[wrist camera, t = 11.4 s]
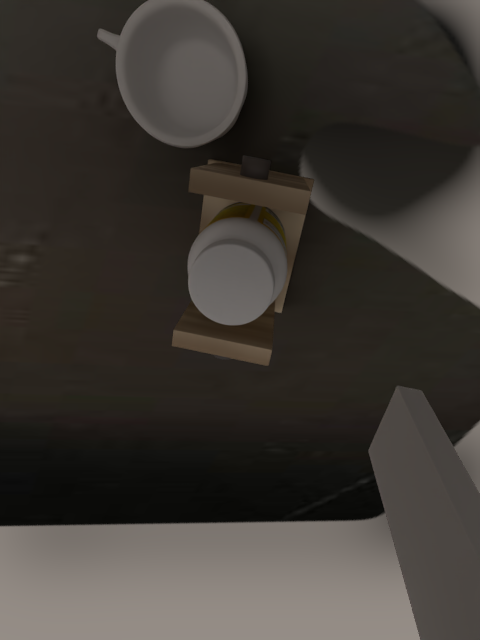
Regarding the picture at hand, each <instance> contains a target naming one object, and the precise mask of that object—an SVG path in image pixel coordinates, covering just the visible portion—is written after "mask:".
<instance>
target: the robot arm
mask: <svg viewBox="0 0 480 640" xmlns="http://www.w3.org/2000/svg"><path fill="white" fill-rule="evenodd" d="M368 451H369V455H370V459H371V462H372V466H373V469H374V473H375V477H376V480H377V484H378V488H379V491H380V495H381V498H382V502H383V506H384V509H385V513H386V517H387V520H388V524H389V527H390V531H391V534H392V538H393V542H394V545H395V549H396V553H397V556H398V560H399V564H400V567H401V571H402V575H403V578H404V582H405V585H406V589H407V593H408V596H409V600H410V604H411V607H412V611H413V614H414V618H415V622H416V625H417V629H418V632H419V636H420V640H480V493H479V492H478V490H477V488H476V486H475V484H474V483H473V481H472V479H471V478H470V476H469V474H468V472H467V470H466V468H465V467H464V465H463V463H462V461H461V460H460V458H459V456H458V455H457V453H456V451H455V449H454V447H453V445H452V444H451V442H450V440H449V438H448V437H447V435H446V433H445V431H444V429H443V428H442V426H441V424H440V422H439V421H438V419H437V417H436V415H435V413H434V412H433V410H432V408H431V406H430V405H429V403H428V401H427V399H426V397H425V396H424V394H423V392H422V391H421V390H416V389H411V388H406V387H401V386H397V387H396V389H395V392H394V394H393V396H392V398H391V401H390V403H389V405H388V407H387V410H386V412H385V414H384V416H383V419H382V421H381V423H380V425H379V428H378V430H377V432H376V434H375V437H374V439H373V441H372V443H371V446H370V448H369V450H368Z"/></svg>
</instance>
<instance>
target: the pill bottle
mask: <svg viewBox="0 0 480 640" xmlns="http://www.w3.org/2000/svg"><path fill="white" fill-rule="evenodd" d="M188 275H189V278H188V288H189V293H190V296H191V299H192V301H193V303H194V304H195V306H196V307H197V308H198V310H199V311H200V312H201V313H202V314H203V315H205V316H206V317H207V318H209V319H211V320H213V321H215V322H217V323H220V324H224V325H242V324H246V323H249V322H251V321H253V320H255V319H257V318H258V317H259V316H261V315H262V314H263V313H264V312H265V310H266V309H267V308H268V306H269V305H270V304H271V303H273V301H274V300H275V299H276V298H277V297H278V295H279V294H280V292H281V291H282V289H283V287H284V284H285V281H286V276H287V251H286V235H285V231H284V228H283V225H282V223H281V221H280V219H279V218H278V216H277V215H276V214H275V213H274V212H273V211H272V210H271V209H269V208H268V207H263V206H258V205H253V204H248V203H243V202H237V203H234V204H231V205H229V206H227V207H225V208H224V209H223V210H221V211H220V212H219V213H218V214H217V215H216V216H215V218H214V219H213V220H212V221H211V222H210V223H209V224H208V225H207V226H206V227H205V228H204V229H203V231H202V232H201V233H200V234H199V235H198V236H197V238H196V239H195V241H194V243H193V245H192V247H191V250H190V253H189V257H188Z"/></svg>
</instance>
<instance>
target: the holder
mask: <svg viewBox="0 0 480 640" xmlns="http://www.w3.org/2000/svg"><path fill="white" fill-rule="evenodd" d="M270 164H271V161H270V160H266V159H261V158H256V157H251V156H244V155H243V159H242V165H239V164H234V163H229V162H224V161H219V160H214V159H208V164H207V165H203V166H198V167H193V168H191V172H190V181H189V191H188V192H192V193H197V194H202V195H204V199H203V207H202V215H201V223H200V231H199V234H200V233H201V232H202V231H203V229H204V228H205V227H206V226H207V225H208V224H209V223H210V222H211V221H212V220H213V219H214V218H215V216H216V215H217V214H218V213H219V212H220V211H221V210H223V209H224V208H225V207H227V206H229V205H231V204H234V203H237V202H243V203H248V204H253V205H258V206H263V207H268V208H269V209H271V210H272V211H273V212H274V213H275V214H276V215H277V216H278V218H279V219H280V221H281V223H282V225H283V228H284V231H285V235H286V251H287V276H286V281H285V284H284V287H283V289H282V291H281V292H280V294H279V295H278V297H277V298H276V299H275V300H274V301H273V303H271V304H270V305H269V306H268V308H267V309H266V310H265V312H264V313H263V314H262V315H261V316H259V317H258V318H257V319H255V320H253V321H251V322H249V323H246V324H242V325H224V324H220V323H217V322H215V321H213V320H211V319H209V318H207V317H206V316H205V315H203V314H202V313H201V312H200V311H199V310H198V308H197V307H196V306H195V304H194V303H193V301H191V302H190V304H189V305H188V307H187V309H186V310H185V312H184V314H183V315H182V317H181V319H180V320H179V322H178V323H177V325H176V327H175V328H174V331H173V340H172V346H176V347H180V348H185V349H190V350H195V351H199V352H204V353H209V354H212V355H213V356H214V357H216V358H218V359H223V360H227V359H230V358H233V359H237V360H242V361H247V362H252V363H257V364H261V365H266V366H268V364H269V360H270V356H271V352H272V343H273V327H274V312H279V313H281V312H282V308H283V304H284V300H285V296H286V292H287V288H288V284H289V280H290V276H291V272H292V268H293V264H294V260H295V256H296V252H297V248H298V244H299V240H300V236H301V232H302V228H303V223H304V219H305V215H306V211H307V207H308V203H309V199H310V195H311V191H312V187H313V183H314V179H310V178H305V177H300V176H295V175H290V174H285V173H280V172H275V171H270Z"/></svg>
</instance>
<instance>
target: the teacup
mask: <svg viewBox="0 0 480 640" xmlns="http://www.w3.org/2000/svg"><path fill="white" fill-rule="evenodd" d="M97 37H98V39H99V40H101V41H102V42H104V43H106V44H108V45H109V46H111V47H112V48H113V49H115V50H116V75H117V81H118V86H119V89H120V93H121V95H122V98H123V100H124V102H125V105H126V106H127V108H128V110H129V112H130V113H131V115H132V116H133V118H134V119H135V120H136V121H137V123H138V124H139V125H140V126H141V127H142V128H143V129H144V130H145V131H146V132H147V133H149V134H150V135H151V136H153V137H154V138H156V139H157V140H159V141H161V142H163V143H165V144H168V145H171V146H174V147H179V148H195V147H199V146H202V145H205V144H208V143H210V142H212V141H214V140H216V139H218V138H220V137H222V136H224V135H225V134H226V133H227V132H228V131H229V130H230V129H231V128H232V127H233V126H234V124H235V123H236V121H237V119H238V116H239V113H240V111H241V108H242V106H243V104H244V101H245V99H246V95H247V89H248V74H247V66H246V60H245V56H244V52H243V48H242V45H241V42H240V40H239V37H238V35H237V33H236V31H235V29H234V28H233V26H232V25H231V23H230V22H229V21H228V19H227V18H226V17H225V16H224V15H223V14H222V13H221V12H220V11H219V10H218V9H217V8H216V7H214V6H213V5H211V4H210V3H208V2H206V1H205V0H148V1H146V2H145V3H143V4H142V5H141V6H140V7H138V8H137V9H136V10H135V11H134V13H133V14H132V15H131V16H130V18H129V19H128V21H127V22H126V24H125V26H124V28H123V30H122V32H121V35H120V36H119V35H116V34H113V33H110V32H108V31H106V30H103V29H99V30H98V34H97Z"/></svg>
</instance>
